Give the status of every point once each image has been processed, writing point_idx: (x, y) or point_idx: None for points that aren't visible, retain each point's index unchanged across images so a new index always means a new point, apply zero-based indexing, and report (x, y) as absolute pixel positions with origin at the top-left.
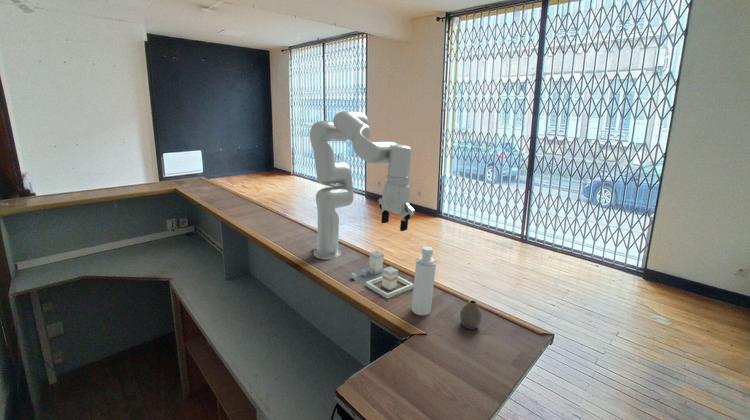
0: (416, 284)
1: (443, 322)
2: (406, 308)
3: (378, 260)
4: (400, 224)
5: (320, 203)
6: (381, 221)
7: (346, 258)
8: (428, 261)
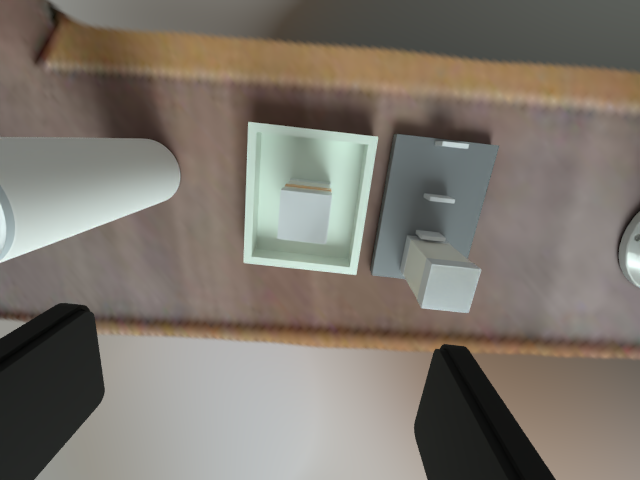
0: (67, 139)
1: None
2: (186, 144)
3: (420, 268)
4: (7, 370)
5: None
6: (471, 357)
7: (587, 270)
8: None
